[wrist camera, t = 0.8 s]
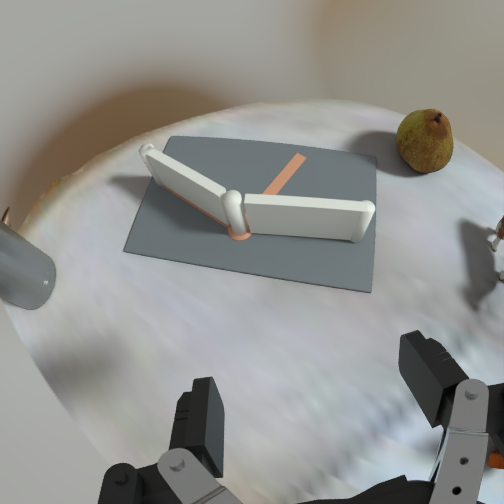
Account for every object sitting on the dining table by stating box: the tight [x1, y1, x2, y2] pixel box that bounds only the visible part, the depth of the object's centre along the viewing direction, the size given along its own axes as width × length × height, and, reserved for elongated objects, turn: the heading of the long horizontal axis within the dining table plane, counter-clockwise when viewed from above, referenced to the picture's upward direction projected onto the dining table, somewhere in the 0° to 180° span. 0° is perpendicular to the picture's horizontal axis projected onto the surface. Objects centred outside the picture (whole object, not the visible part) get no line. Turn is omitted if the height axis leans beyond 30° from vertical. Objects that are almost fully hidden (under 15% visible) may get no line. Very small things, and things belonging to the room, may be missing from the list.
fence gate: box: [244, 194, 375, 243], centre depth 36 cm, size 14×2×7 cm, turn 83°
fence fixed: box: [139, 143, 248, 236], centre depth 40 cm, size 16×2×8 cm, turn 53°
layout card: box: [124, 136, 376, 293], centre depth 43 cm, size 32×20×1 cm, turn 78°
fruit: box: [396, 109, 453, 173], centre depth 38 cm, size 9×9×12 cm
